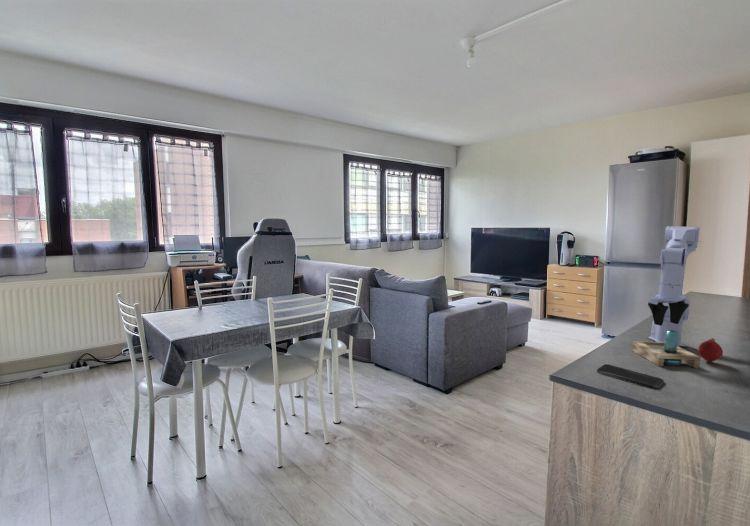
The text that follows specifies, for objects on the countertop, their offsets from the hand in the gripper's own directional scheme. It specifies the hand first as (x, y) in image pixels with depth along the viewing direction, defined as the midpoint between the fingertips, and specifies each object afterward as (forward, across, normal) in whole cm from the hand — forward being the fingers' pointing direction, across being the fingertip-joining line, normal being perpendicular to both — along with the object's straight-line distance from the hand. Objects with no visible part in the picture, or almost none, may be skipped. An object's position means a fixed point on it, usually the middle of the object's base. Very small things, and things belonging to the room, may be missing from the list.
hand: (666, 324), depth 130 cm
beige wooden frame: (+10, +5, +4) cm, 12 cm away
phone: (+11, +30, +12) cm, 34 cm away
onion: (+11, -7, +10) cm, 16 cm away
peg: (+10, +6, +6) cm, 13 cm away
